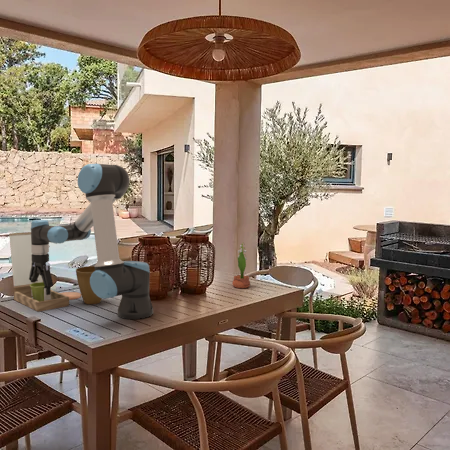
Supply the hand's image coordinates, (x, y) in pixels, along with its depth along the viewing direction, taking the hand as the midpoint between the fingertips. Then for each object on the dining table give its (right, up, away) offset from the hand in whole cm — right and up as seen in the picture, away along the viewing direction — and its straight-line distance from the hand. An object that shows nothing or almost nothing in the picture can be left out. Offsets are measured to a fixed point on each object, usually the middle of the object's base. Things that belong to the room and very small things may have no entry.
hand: (40, 298), depth 210 cm
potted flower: (+95, 0, +42) cm, 104 cm away
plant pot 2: (+23, -2, +3) cm, 24 cm away
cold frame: (0, -2, 0) cm, 2 cm away
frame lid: (-11, +18, +9) cm, 23 cm away
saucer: (+8, -1, +12) cm, 14 cm away
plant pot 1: (0, -2, 0) cm, 2 cm away
